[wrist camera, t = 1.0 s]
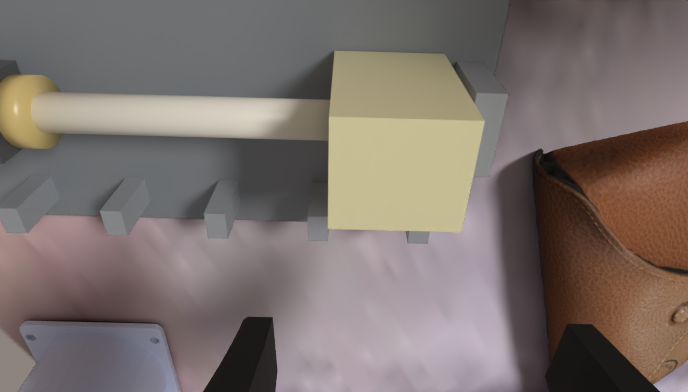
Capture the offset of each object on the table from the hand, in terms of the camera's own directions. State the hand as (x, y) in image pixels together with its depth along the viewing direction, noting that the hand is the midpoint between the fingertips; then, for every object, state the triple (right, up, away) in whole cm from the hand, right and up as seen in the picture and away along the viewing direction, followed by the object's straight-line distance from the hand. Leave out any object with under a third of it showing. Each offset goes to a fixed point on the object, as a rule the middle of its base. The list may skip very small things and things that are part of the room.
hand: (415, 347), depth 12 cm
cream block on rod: (0, +7, +6) cm, 10 cm away
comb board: (-7, +8, +7) cm, 13 cm away
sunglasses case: (+13, 0, +13) cm, 18 cm away
